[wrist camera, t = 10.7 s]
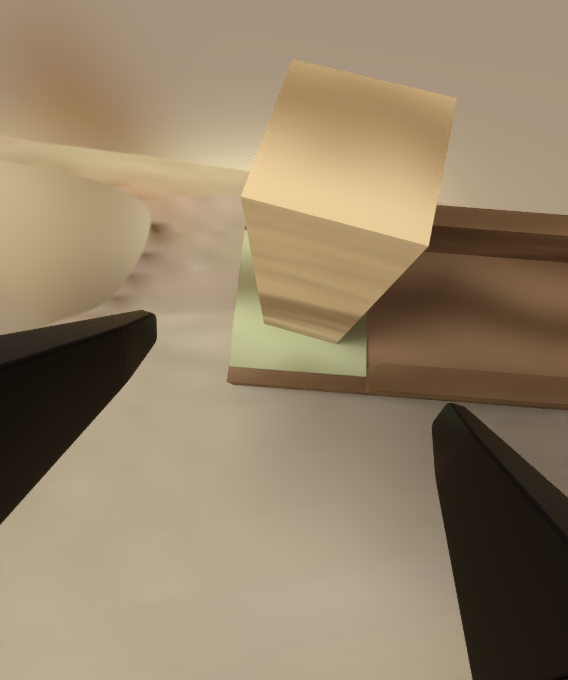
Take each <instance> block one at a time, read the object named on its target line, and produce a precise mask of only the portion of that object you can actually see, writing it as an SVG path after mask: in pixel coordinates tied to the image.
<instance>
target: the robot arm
mask: <svg viewBox="0 0 568 680" xmlns="http://www.w3.org/2000/svg"><path fill="white" fill-rule="evenodd" d="M156 339H157V320H156V316H155V314H153V313H151V312H147V311H144V310H138V311H133V312H127V313H121V314H116V315H110V316H105V317H99V318H94V319H88V320H83V321H77V322H71V323H66V324H60V325H55V326H49V327H44V328H38V329H33V330H27V331H22V332H16V333H10V334H5V335H0V524H1V523H2V522H3V521H4V520H5V519H6V518H7V517H8V516H9V514H10V513H11V512H12V511H13V510H14V509H15V508H16V507H17V505H18V504H19V503H20V502H21V501H22V500H23V499H24V498H25V496H26V495H27V494H28V493H29V492H30V491H31V490H32V489H33V487H34V486H35V485H36V484H37V483H38V482H39V481H40V480H41V478H42V477H43V476H44V475H45V474H46V473H47V472H48V471H49V469H50V468H51V467H52V466H53V465H54V464H55V463H56V462H57V460H58V459H59V458H60V457H61V456H62V455H63V454H64V453H65V452H66V450H67V449H68V448H69V447H70V446H71V445H72V444H73V443H74V441H75V440H76V439H77V438H78V437H79V436H80V435H81V434H82V432H83V431H84V430H85V429H86V428H87V427H88V426H89V425H90V423H91V422H92V421H93V420H94V419H95V418H96V417H97V416H98V414H99V413H100V412H101V411H102V410H103V409H104V408H105V407H106V405H107V404H108V403H109V402H110V401H111V400H112V399H113V398H114V396H115V395H116V394H117V393H118V392H119V391H120V390H121V389H122V388H123V386H124V385H125V384H126V383H127V382H128V380H129V379H130V378H131V376H132V375H133V374H134V372H135V371H136V369H137V368H138V367H139V365H140V364H141V362H142V361H143V360H144V358H145V357H146V355H147V354H148V353H149V351H150V350H151V348H152V347H153V345H154V344H155V342H156ZM432 439H433V453H434V467H435V477H436V484H437V490H438V495H439V501H440V506H441V511H442V517H443V522H444V528H445V533H446V538H447V544H448V549H449V555H450V560H451V566H452V571H453V576H454V582H455V587H456V593H457V598H458V603H459V609H460V614H461V620H462V625H463V631H464V636H465V641H466V647H467V652H468V658H469V663H470V669H471V674H472V679H473V680H568V497H566V496H565V495H564V494H563V493H562V492H561V491H560V490H559V489H557V488H556V487H555V486H554V485H553V484H552V483H551V482H549V481H548V480H547V479H546V478H545V477H544V476H543V475H542V474H540V473H539V472H538V471H537V470H536V469H535V468H534V467H532V466H531V465H530V464H529V463H528V462H527V461H526V460H524V459H523V458H522V457H521V456H520V455H519V454H518V453H517V452H515V451H514V450H513V449H512V448H511V447H510V446H509V445H507V444H506V443H505V442H504V441H503V440H502V439H501V438H500V437H498V436H497V435H496V434H495V433H494V432H493V431H492V430H490V429H489V428H488V427H487V426H486V425H485V424H484V423H483V422H481V421H480V420H479V419H478V418H477V417H476V416H475V415H473V414H472V413H471V412H470V411H469V410H468V409H467V408H465V407H464V406H461V405H457V404H454V403H448V404H446V405H445V407H444V408H443V409H442V411H441V412H440V413H439V415H438V416H437V417H436V419H435V420H434V422H433V424H432Z"/></svg>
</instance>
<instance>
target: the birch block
mask: <svg viewBox="0 0 568 680" xmlns="http://www.w3.org/2000/svg"><path fill="white" fill-rule="evenodd" d="M456 101H457V98H453V97H449V96H445V95H441V94H437V93H432V92H428V91H424V90H419V89H415V88H411V87H407V86H403V85H399V84H395V83H391V82H386V81H382V80H378V79H374V78H370V77H365V76H361V75H357V74H353V73H348V72H344V71H341V70H336V69H332V68H328V67H324V66H320V65H315V64H311V63H307V62H303V61H299V60H295V59H293V60H292V62H291V64H290V67H289V70H288V72H287V75H286V78H285V80H284V83H283V86H282V88H281V91H280V94H279V96H278V99H277V102H276V104H275V107H274V110H273V112H272V115H271V117H270V120H269V123H268V126H267V128H266V131H265V134H264V136H263V139H262V141H261V144H260V147H259V149H258V152H257V155H256V157H255V160H254V163H253V165H252V168H251V171H250V173H249V176H248V179H247V181H246V184H245V186H244V189H243V192H242V194H241V200H242V206H243V211H244V217H245V222H246V228H247V233H248V239H249V244H250V250H251V255H252V261H253V266H254V272H255V277H256V283H257V288H258V294H259V299H260V305H261V310H262V316H263V321H264V324H267V325H270V326H274V327H277V328H281V329H284V330H288V331H291V332H295V333H298V334H302V335H305V336H309V337H312V338H316V339H319V340H323V341H326V342H330V343H333V344H336V343H337V342H338V341H339V340H340V339H341V338H342V337H343V336H344V335H345V334H346V333H347V332H348V331H349V330H350V329H351V328H352V326H353V325H354V324H355V323H356V322H357V321H358V320H359V319H360V318H361V317H362V316H363V315H364V314H365V313H366V312H367V311H368V310H369V308H370V307H371V306H372V305H373V304H374V303H375V302H376V301H377V300H378V299H379V298H380V297H381V296H382V295H383V294H384V293H385V292H386V291H387V289H388V288H389V287H390V286H391V285H392V284H393V283H394V282H395V281H396V280H397V279H398V278H399V277H400V276H401V275H402V274H403V273H404V272H405V270H406V269H407V268H408V267H409V266H410V265H411V264H412V263H413V262H414V261H415V260H416V259H417V258H418V257H419V256H420V255H421V254H422V252H423V251H424V250H425V249H426V248H427V247H428V246H429V241H430V236H431V231H432V226H433V221H434V215H435V210H436V205H437V200H438V194H439V189H440V184H441V179H442V174H443V169H444V163H445V158H446V153H447V148H448V142H449V137H450V132H451V127H452V122H453V117H454V111H455V106H456Z"/></svg>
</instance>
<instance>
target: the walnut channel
mask: <svg viewBox="0 0 568 680" xmlns="http://www.w3.org/2000/svg"><path fill="white" fill-rule="evenodd" d="M228 366H229V370H228V378H227V382H229V383H231V384H233V385H246V386H259V387H272V388H286V389H299V390H312V391H325V392H338V393H351V394H364V395H377V396H390V397H403V398H416V399H429V400H442V401H455V402H468V403H481V404H494V405H507V406H521V407H534V408H547V409H560V410H568V215H556V214H544V213H531V212H518V211H505V210H493V209H480V208H467V207H454V206H441V205H436V210H435V215H434V221H433V226H432V231H431V236H430V241H429V246H428V247H427V248H426V249H425V250H424V251H423V252H422V254H421V255H420V256H419V257H418V258H417V259H416V260H415V261H414V262H413V263H412V264H411V265H410V266H409V267H408V268H407V269H406V270H405V272H404V273H403V274H402V275H401V276H400V277H399V278H398V279H397V280H396V281H395V282H394V283H393V284H392V285H391V286H390V287H389V288H388V289H387V291H386V292H385V293H384V294H383V295H382V296H381V297H380V298H379V299H378V300H377V301H376V302H375V303H374V304H373V305H372V306H371V307H370V308H369V310H368V311H367V312H366V313H365V314H364V315H363V316H362V317H361V318H360V319H359V320H358V321H357V322H356V323H355V324H354V325H353V326H352V328H351V329H350V330H349V331H348V332H347V333H346V334H345V335H344V336H343V337H342V338H341V339H340V340H339V341H338V342H337V343H336V344H333V343H330V342H326V341H323V340H319V339H316V338H312V337H309V336H305V335H302V334H298V333H295V332H291V331H288V330H284V329H281V328H277V327H274V326H270V325H267V324H264V321H263V316H262V310H261V305H260V299H259V294H258V288H257V283H256V277H255V272H254V266H253V261H252V255H251V250H250V244H249V239H248V233H247V228H246V226H245V230H244V239H243V247H242V256H241V264H240V272H239V281H238V289H237V298H236V306H235V314H234V323H233V331H232V340H231V348H230V356H229V365H228Z"/></svg>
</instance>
